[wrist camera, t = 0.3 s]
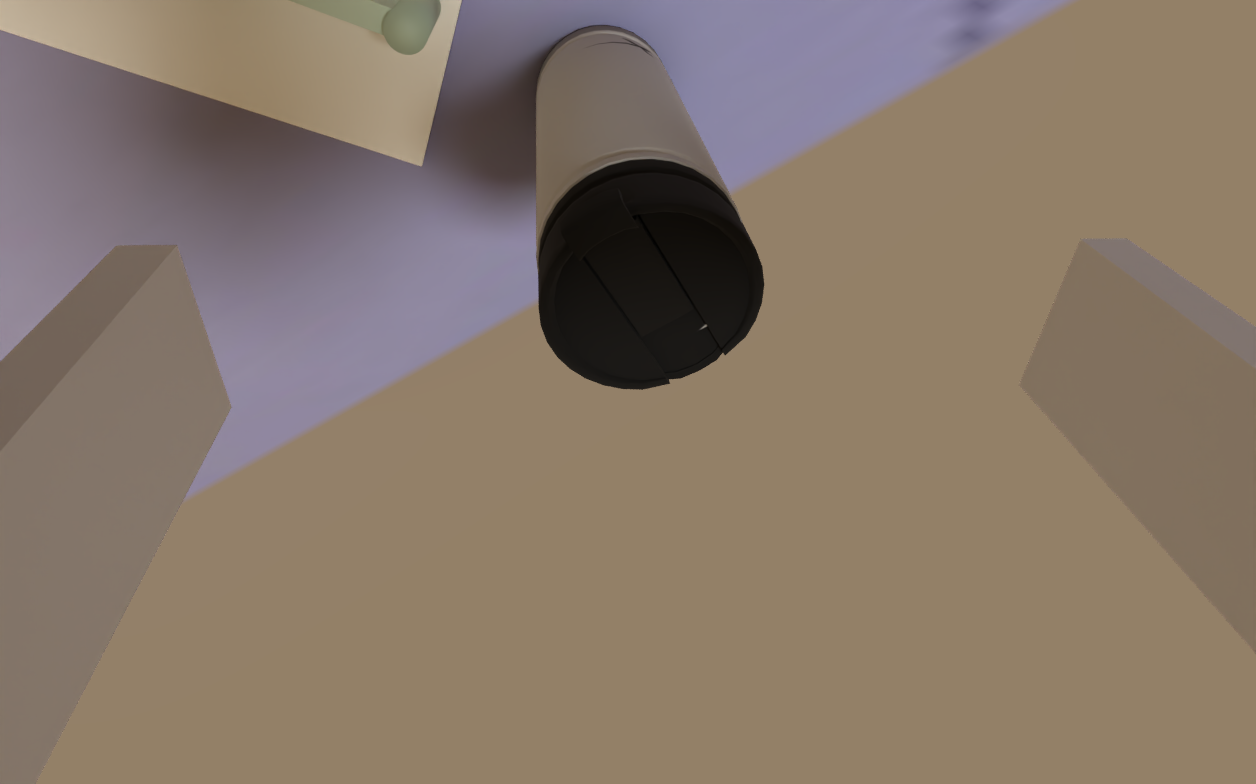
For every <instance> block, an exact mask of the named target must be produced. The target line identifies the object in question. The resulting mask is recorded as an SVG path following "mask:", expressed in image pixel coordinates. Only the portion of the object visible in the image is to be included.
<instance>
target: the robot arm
mask: <svg viewBox="0 0 1256 784" xmlns="http://www.w3.org/2000/svg"><path fill="white" fill-rule="evenodd" d="M1019 385H1020V387H1021V388H1022V389H1023V390H1024V391H1025V392H1026V393H1027V395H1028V396H1029V397H1030V398H1031V399H1032V400H1033V401H1034V403H1035V404H1036V405H1037V406H1038V407H1039V408H1040V409H1041V410H1042V412H1043V413H1044V414H1045V415H1046V416H1047V417H1048V418H1049V419H1050V421H1051V422H1052V423H1053V424H1054V425H1055V426H1056V427H1057V428H1058V430H1059V431H1060V432H1061V433H1062V434H1063V435H1064V437H1065V438H1066V439H1067V440H1068V441H1069V442H1070V443H1071V444H1072V446H1073V447H1074V448H1075V449H1076V450H1077V451H1078V452H1079V454H1080V455H1081V456H1082V457H1083V458H1084V459H1085V460H1086V461H1087V463H1088V464H1089V465H1090V466H1091V467H1092V468H1093V469H1094V471H1095V472H1096V473H1097V474H1098V475H1099V476H1100V477H1101V479H1102V480H1103V481H1104V482H1105V483H1106V484H1107V485H1108V487H1110V488H1111V490H1112V491H1113V492H1114V493H1115V494H1116V496H1118V498H1119V499H1120V500H1121V501H1122V502H1123V504H1124V505H1125V506H1126V507H1127V508H1128V509H1129V510H1130V511H1131V512H1132V514H1133V515H1134V516H1135V517H1136V518H1137V519H1138V521H1139V522H1140V523H1141V524H1142V525H1143V526H1144V527H1145V528H1146V530H1147V531H1148V532H1149V533H1150V534H1151V535H1152V536H1153V538H1154V539H1155V540H1156V541H1157V542H1158V543H1159V544H1160V545H1161V547H1162V548H1163V549H1164V550H1165V551H1166V552H1167V553H1168V555H1169V556H1170V557H1171V558H1172V559H1173V560H1174V561H1175V563H1176V564H1177V565H1178V566H1179V567H1180V568H1181V569H1182V571H1183V572H1184V573H1185V574H1186V575H1187V576H1188V577H1189V578H1190V580H1191V581H1192V582H1193V583H1194V584H1195V585H1196V586H1197V588H1198V589H1199V590H1200V591H1201V592H1202V593H1203V594H1204V595H1205V597H1206V598H1207V599H1208V600H1209V601H1210V602H1211V603H1212V605H1213V606H1214V607H1215V608H1216V609H1217V610H1218V611H1219V612H1220V614H1221V615H1222V616H1223V617H1224V618H1225V619H1226V620H1227V622H1228V623H1229V624H1230V625H1231V626H1232V627H1233V628H1234V630H1235V631H1236V632H1237V633H1238V634H1239V635H1240V636H1241V637H1242V639H1243V640H1244V641H1245V642H1246V643H1247V644H1248V645H1249V647H1250V648H1251V649H1252V650H1253V651H1254V652H1255V653H1256V327H1255V326H1254V325H1252V324H1251V323H1249V322H1248V321H1246V320H1245V319H1243V318H1242V317H1241V316H1239V315H1238V314H1236V313H1235V312H1233V311H1232V310H1230V309H1229V308H1227V307H1226V306H1224V305H1223V304H1222V303H1220V302H1219V301H1217V300H1216V299H1214V298H1213V297H1211V296H1210V295H1208V294H1207V293H1206V292H1204V291H1203V290H1201V289H1200V288H1198V287H1197V286H1195V285H1194V284H1192V283H1191V282H1189V281H1188V280H1186V279H1185V278H1184V277H1182V276H1180V275H1179V274H1177V273H1176V272H1175V271H1173V270H1172V269H1170V268H1169V267H1168V266H1166V265H1165V264H1163V263H1162V262H1160V261H1159V260H1157V259H1155V258H1154V257H1153V256H1151V255H1150V254H1148V253H1147V252H1146V251H1144V250H1143V249H1141V248H1139V247H1138V246H1137V245H1135V244H1134V243H1132V242H1131V241H1130V240H1128V239H1080V242H1079V244H1078V246H1077V249H1076V251H1075V253H1074V256H1073V258H1072V260H1071V263H1070V265H1069V267H1068V270H1067V272H1066V275H1065V277H1064V279H1063V282H1062V284H1061V286H1060V289H1059V291H1058V294H1057V296H1056V298H1055V301H1054V303H1053V306H1052V308H1051V310H1050V312H1049V315H1048V317H1047V319H1046V322H1045V324H1044V327H1043V329H1042V331H1041V334H1040V336H1039V338H1038V341H1037V343H1036V346H1035V348H1034V350H1033V353H1032V355H1031V357H1030V360H1029V362H1028V364H1027V367H1026V369H1025V372H1024V374H1023V377H1022V379H1021V381H1020V383H1019ZM230 409H231V404H230V401H229V398H228V395H227V392H226V389H225V386H224V383H223V380H222V377H221V375H220V372H219V369H218V366H217V363H216V360H215V357H214V354H213V351H212V348H211V345H210V342H209V339H208V336H207V333H206V330H205V327H204V324H203V321H202V318H201V315H200V312H199V309H198V306H197V303H196V300H195V297H194V294H193V291H192V288H191V285H190V282H189V279H188V276H187V273H186V270H185V267H184V265H183V262H182V259H181V256H180V253H179V250H178V247H177V245H128V246H116V247H115V248H114V249H113V250H112V251H111V252H110V253H109V254H108V255H107V256H106V257H105V258H104V259H103V260H102V261H101V262H100V263H99V264H98V265H97V266H96V267H95V268H94V269H93V270H92V271H91V272H90V273H89V274H88V275H87V276H86V277H85V278H84V279H83V280H82V281H81V282H80V283H79V284H78V285H77V286H76V287H75V288H74V289H73V290H72V291H71V292H70V293H69V294H68V295H67V296H66V297H65V298H64V299H63V300H62V301H61V302H60V303H59V304H58V305H57V306H56V307H55V308H54V309H53V310H52V311H51V312H50V313H49V314H48V315H47V316H46V317H45V318H44V319H43V320H42V321H41V322H40V323H39V324H38V325H37V326H36V327H35V328H34V329H33V330H32V331H31V332H30V333H29V334H28V335H27V336H26V337H25V338H24V339H23V340H22V341H21V342H20V343H19V344H18V345H17V346H16V347H15V348H14V349H13V350H12V351H11V352H10V353H9V354H8V355H7V356H6V357H5V358H4V359H3V360H2V361H1V362H0V784H36V782H37V780H38V778H39V776H40V774H41V772H42V770H43V768H44V766H45V764H46V762H47V760H48V759H49V757H50V755H51V753H52V751H53V749H54V747H55V745H56V743H57V741H58V739H59V738H60V736H61V734H62V732H63V730H64V728H65V726H66V724H67V722H68V720H69V718H70V716H71V714H72V713H73V711H74V709H75V707H76V705H77V703H78V701H79V699H80V697H81V695H82V693H83V691H84V690H85V688H86V686H87V684H88V682H89V680H90V678H91V676H92V674H93V672H94V670H95V668H96V666H97V664H98V663H99V661H100V659H101V657H102V654H103V653H104V651H105V649H106V647H107V645H108V643H109V641H110V640H111V638H112V636H113V634H114V632H115V630H116V628H117V626H118V624H119V622H120V620H121V618H122V616H123V614H124V613H125V611H126V609H127V607H128V605H129V603H130V601H131V599H132V597H133V595H134V593H135V591H136V590H137V587H138V586H139V584H140V582H141V580H142V578H143V576H144V574H145V572H146V570H147V568H148V567H149V565H150V563H151V561H152V559H153V557H154V555H155V553H156V551H157V549H158V547H159V545H160V544H161V541H162V540H163V538H164V536H165V534H166V532H167V530H168V528H169V526H170V524H171V522H172V520H173V518H174V517H175V515H176V513H177V511H178V509H179V507H180V505H181V503H182V501H183V499H184V497H185V496H186V494H187V492H188V490H189V488H190V486H191V484H192V482H193V480H194V478H195V476H196V474H197V472H198V471H199V469H200V467H201V465H202V463H203V461H204V459H205V457H206V455H207V453H208V451H209V449H210V448H211V446H212V444H213V442H214V440H215V438H216V436H217V434H218V432H219V430H220V428H221V426H222V424H223V423H224V421H225V419H226V417H227V415H228V413H229V411H230Z"/></svg>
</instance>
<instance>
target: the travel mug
mask: <svg viewBox="0 0 1256 784" xmlns="http://www.w3.org/2000/svg"><path fill="white" fill-rule="evenodd" d="M536 246H537V251H536V258H537V267H538V282H539V313H540V323H541V327H542V330H543V332H544V335H545V337H546V340H547V343H548V344H549V346H550V347H551V348H552V350H553V351H554V353H555V354H556V356H557V357H558V358H559V359H560V360H561V361H562V362H563V363H564V364H566V365H567V366H568V367H569V368H570V369H571V370H573V371H574V372H576V373H578V374H579V375H581V376H583V377H584V378H586V379H589V380H591V381H594V382H597V383H599V384H602V385H605V386H611V387H616V388H621V389H642V390H643V389H647V388H652V387H656V386H661V385H665V384H670V383H669V379H678V378H683V377H685V376H687V375H690V374H692V373H695V372H697V371H699V370H701V369H703V368H704V367H706V366H708V365H709V364H711V363H712V362H714V361H716V360H717V359H718V358H719V356H720V355H721V354H722V353H724V354H725V355H726V354H727V353H728V352H729V351H731V350H732V349H733V348H734V347H735V346H736V345H737V344H738V343H739V342H740V341H742V340H743V339H744V338H745V337H746V335H747V334H748V332H749V330H750V329H751V327H752V325H753V324H754V322H755V320H756V318H757V315H758V312H759V309H760V306H761V304H762V298H763V289H764V279H763V270H762V265H761V262H760V259H759V257H758V254H757V251H756V249H755V247H754V245H753V243H752V241H751V239H750V237H749V235H748V233H747V231H746V229H745V227H744V225H743V223H742V220H741V218H740V215H739V212H738V210H737V207H736V205H735V203H734V201H733V200H732V198H731V195H730V193H729V192H728V190H727V188H726V186H725V184H724V182H723V180H722V178H721V176H720V174H719V172H718V170H717V168H716V166H715V164H714V162H713V160H712V159H711V157H710V155H709V153H708V151H707V149H706V147H705V145H704V143H703V141H702V139H701V137H700V135H699V133H698V131H697V129H696V127H695V126H694V124H693V122H692V120H691V118H690V116H689V114H688V112H687V110H686V108H685V106H684V104H683V102H682V100H681V98H680V96H679V94H678V93H677V91H676V89H675V87H674V85H673V83H672V81H671V79H670V77H669V75H668V73H667V71H666V70H665V67H664V65H663V63H662V61H661V60H660V58H659V57H658V55H657V54H656V52H655V51H654V49H653V48H652V47H651V46H650V45H649V44H648V43H647V42H646V41H645V40H643V39H642V38H640V37H639V36H637V35H636V34H634V33H633V32H630V31H628V30H625V29H623V28H620V27H614V26H608V25H603V26H591V27H588V28H584V29H580V30H578V31H576V32H574V33H572V34H570V35H568V36H567V37H565V38H564V39H563V40H562V41H561V42H559V43H558V44H557V45H556V46H555V47H554V48H553V50H552V51H551V52H550V53H549V55H548V56H547V58H546V60H545V62H544V64H543V65H542V67H541V70H540V74H539V77H538V80H537V90H536Z"/></svg>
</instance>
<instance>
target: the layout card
mask: <svg viewBox="0 0 1256 784" xmlns="http://www.w3.org/2000/svg"><path fill="white" fill-rule="evenodd" d="M440 3H441V13H440V16H439V18H438V20H437V22H436V24H435V26H434V28H433V30H432V32H431V34H430V36H429V38H428V41H427V43H426V45H425V46H424V48H423V49H422V50H421V51H420V52H418V53H416V54H413V55H404V54H401V53H399V52H397V51H395V50H394V49H393V48H391V47H390V45H389V44H388V43H387V41H386V39H385V37H384V35H381V34H379V33H376V32H373V31H370V30H368V29H365V28H362V27H360V26H357V25H354V24H351V23H349V22H346V21H343V20H341V19H338V18H335V17H333V16H330V15H327V14H324V13H322V12H319V11H316V10H314V9H311V8H308V7H305V6H303V5H300V4H297V3H295V2H292V1H289V0H0V30H2V31H5V32H8V33H11V34H14V35H18V36H21V37H24V38H27V39H30V40H33V41H36V42H39V43H42V44H45V45H48V46H51V47H55V48H58V49H61V50H64V51H67V52H70V53H73V54H76V55H79V56H82V57H85V58H88V59H92V60H95V61H98V62H101V63H104V64H107V65H110V66H113V67H116V68H119V69H122V70H125V71H129V72H132V73H135V74H138V75H141V76H144V77H147V78H150V79H153V80H156V81H159V82H162V83H166V84H169V85H172V86H175V87H178V88H181V89H184V90H187V91H190V92H193V93H196V94H199V95H203V96H206V97H209V98H212V99H215V100H218V101H221V102H224V103H227V104H230V105H233V106H236V107H240V108H243V109H246V110H249V111H252V112H255V113H258V114H261V115H264V116H267V117H270V118H273V119H277V120H280V121H283V122H286V123H289V124H292V125H295V126H298V127H301V128H304V129H307V130H310V131H314V132H317V133H320V134H323V135H326V136H329V137H332V138H335V139H338V140H341V141H344V142H347V143H351V144H354V145H357V146H360V147H363V148H366V149H369V150H372V151H375V152H378V153H381V154H384V155H388V156H391V157H394V158H397V159H400V160H403V161H406V162H409V163H412V164H415V165H418V166H421V167H422V164H423V161H424V156H425V152H426V148H427V144H428V140H429V136H430V132H431V127H432V123H433V119H434V115H435V111H436V107H437V102H438V98H439V94H440V90H441V86H442V82H443V77H444V73H445V69H446V65H447V61H448V57H449V53H450V48H451V44H452V40H453V36H454V32H455V28H456V23H457V19H458V15H459V11H460V7H461V3H462V0H440Z"/></svg>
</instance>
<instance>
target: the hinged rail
mask: <svg viewBox="0 0 1256 784" xmlns="http://www.w3.org/2000/svg"><path fill="white" fill-rule="evenodd" d="M289 1H292V2H295V3H297V4H300V5H303V6H305V7H308V8H311V9H314V10H316V11H319V12H322V13H324V14H327V15H330V16H333V17H335V18H338V19H341V20H343V21H346V22H349V23H351V24H354V25H357V26H360V27H362V28H365V29H368V30H370V31H373V32H376V33H379V34H381V35H384V37H385V39H386V41H387V43H388V44H389V45H390V47H391V48H393V49H394V50H395V51H397V52H399V53H401V54H404V55H413V54H416V53H418V52H420V51H421V50H422V49H423V48H424V46H425V45H426V43H427V41H428V38H429V36H430V34H431V32H432V30H433V28H434V26H435V24H436V22H437V20H438V18H439V16H440V13H441V3H440V0H289Z"/></svg>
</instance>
